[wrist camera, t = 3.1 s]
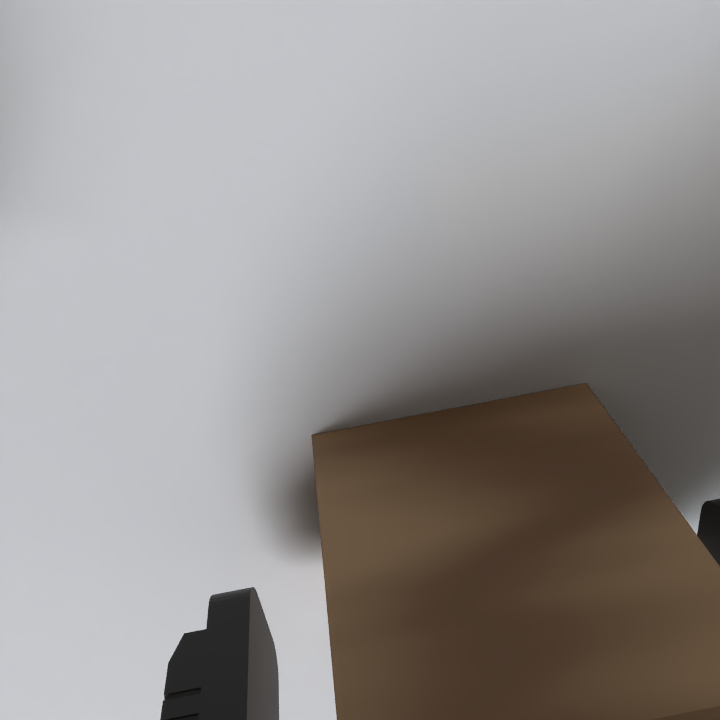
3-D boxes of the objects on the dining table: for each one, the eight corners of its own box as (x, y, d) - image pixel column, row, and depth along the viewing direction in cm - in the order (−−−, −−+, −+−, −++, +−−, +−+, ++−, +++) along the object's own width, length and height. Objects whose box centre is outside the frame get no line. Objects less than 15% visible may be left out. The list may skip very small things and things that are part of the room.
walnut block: (585, 381, 12) (808, 687, 7) (579, 569, 15) (739, 892, 10) (311, 433, 12) (342, 782, 7) (354, 613, 15) (398, 963, 10)
